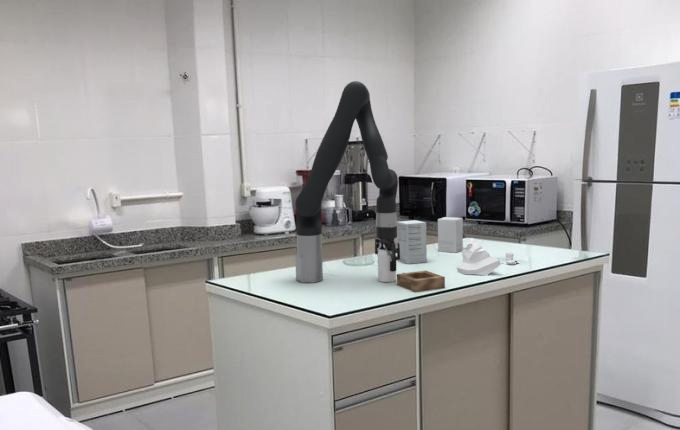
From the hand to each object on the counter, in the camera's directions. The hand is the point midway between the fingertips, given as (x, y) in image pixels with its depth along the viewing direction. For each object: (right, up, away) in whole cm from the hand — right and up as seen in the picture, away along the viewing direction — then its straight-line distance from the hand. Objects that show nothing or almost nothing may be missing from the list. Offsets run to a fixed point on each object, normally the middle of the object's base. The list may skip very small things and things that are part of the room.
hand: (387, 268), depth 215 cm
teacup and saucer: (+49, -1, +26) cm, 56 cm away
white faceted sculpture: (+35, -3, +11) cm, 36 cm away
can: (0, -5, 0) cm, 5 cm away
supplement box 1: (+13, 0, +34) cm, 36 cm away
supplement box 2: (+33, +3, +56) cm, 65 cm away
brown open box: (+11, -5, -9) cm, 15 cm away
